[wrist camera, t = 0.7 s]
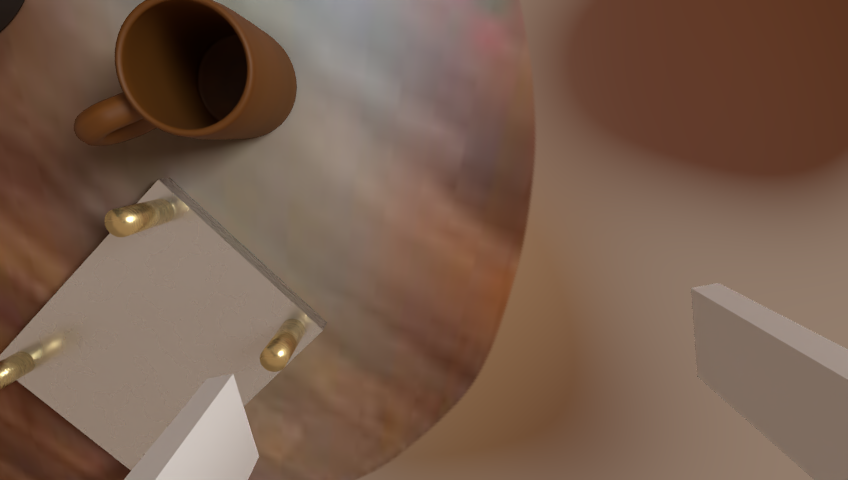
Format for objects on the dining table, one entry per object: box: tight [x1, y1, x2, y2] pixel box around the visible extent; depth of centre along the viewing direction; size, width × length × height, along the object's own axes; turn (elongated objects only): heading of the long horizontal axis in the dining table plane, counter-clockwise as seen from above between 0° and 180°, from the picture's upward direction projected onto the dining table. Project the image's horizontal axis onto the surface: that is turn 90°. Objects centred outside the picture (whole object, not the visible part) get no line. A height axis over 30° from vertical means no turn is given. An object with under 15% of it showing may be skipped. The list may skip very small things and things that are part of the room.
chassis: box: [0, 178, 327, 470], centre depth 36 cm, size 16×20×6 cm
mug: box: [74, 0, 297, 146], centre depth 30 cm, size 12×8×9 cm, turn 117°
